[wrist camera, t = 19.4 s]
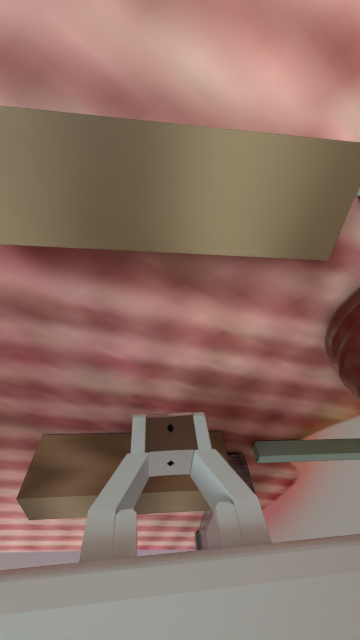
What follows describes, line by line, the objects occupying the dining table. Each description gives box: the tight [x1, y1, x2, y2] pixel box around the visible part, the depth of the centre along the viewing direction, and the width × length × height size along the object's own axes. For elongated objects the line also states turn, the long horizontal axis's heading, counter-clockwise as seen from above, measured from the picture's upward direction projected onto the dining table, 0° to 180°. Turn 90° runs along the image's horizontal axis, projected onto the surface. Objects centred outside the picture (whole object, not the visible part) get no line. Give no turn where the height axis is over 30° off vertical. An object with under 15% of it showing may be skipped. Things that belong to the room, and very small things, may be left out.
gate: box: [195, 454, 256, 551], centre depth 24 cm, size 2×18×5 cm, turn 176°
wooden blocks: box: [0, 106, 360, 520], centre depth 13 cm, size 13×21×4 cm, turn 176°
